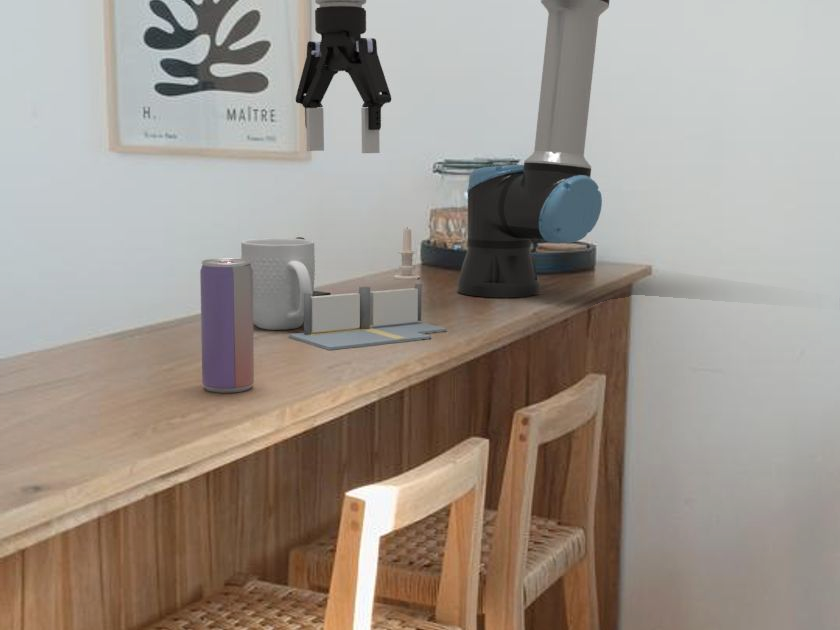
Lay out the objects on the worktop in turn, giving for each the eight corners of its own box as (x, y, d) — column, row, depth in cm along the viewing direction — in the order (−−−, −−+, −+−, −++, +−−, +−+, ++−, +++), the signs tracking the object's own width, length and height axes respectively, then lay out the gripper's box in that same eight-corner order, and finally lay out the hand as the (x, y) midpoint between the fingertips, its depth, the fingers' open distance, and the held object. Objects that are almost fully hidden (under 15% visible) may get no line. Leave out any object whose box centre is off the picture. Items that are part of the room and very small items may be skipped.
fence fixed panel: (366, 330, 182) (366, 286, 181) (371, 331, 180) (372, 287, 179) (301, 336, 175) (301, 291, 174) (307, 338, 174) (307, 293, 173)
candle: (395, 276, 244) (395, 225, 243) (421, 277, 244) (421, 225, 242) (392, 279, 239) (392, 227, 238) (418, 280, 239) (419, 227, 237)
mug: (340, 332, 179) (340, 245, 177) (273, 339, 173) (273, 248, 171) (293, 318, 191) (293, 236, 189) (229, 324, 185) (228, 239, 183)
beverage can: (209, 395, 138) (207, 264, 135) (197, 384, 143) (194, 259, 141) (260, 391, 140) (258, 262, 138) (246, 381, 145) (244, 257, 143)
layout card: (416, 323, 188) (416, 320, 188) (461, 335, 178) (461, 332, 178) (288, 337, 175) (288, 334, 175) (329, 350, 165) (329, 346, 165)
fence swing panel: (418, 319, 187) (418, 283, 186) (422, 320, 186) (423, 284, 185) (369, 324, 182) (369, 287, 181) (373, 325, 181) (373, 288, 180)
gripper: (271, 10, 185) (274, 150, 188) (373, -1, 166) (375, 154, 170) (311, 12, 190) (313, 149, 193) (415, 2, 171) (415, 153, 175)
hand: (342, 152), depth 181 cm, fingers open, 13 cm apart
